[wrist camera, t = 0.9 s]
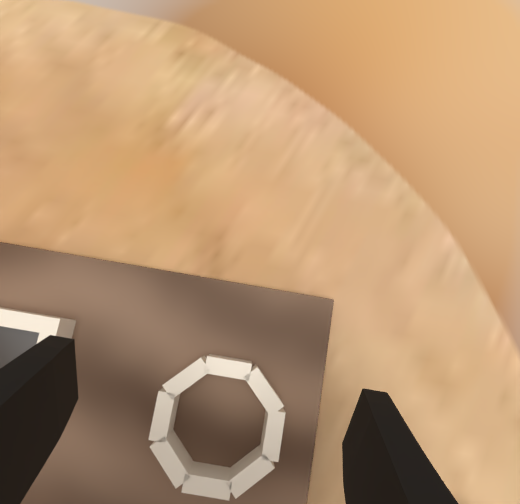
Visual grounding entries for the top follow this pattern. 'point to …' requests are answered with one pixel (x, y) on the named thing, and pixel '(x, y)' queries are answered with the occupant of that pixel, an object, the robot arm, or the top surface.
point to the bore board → (154, 351)
